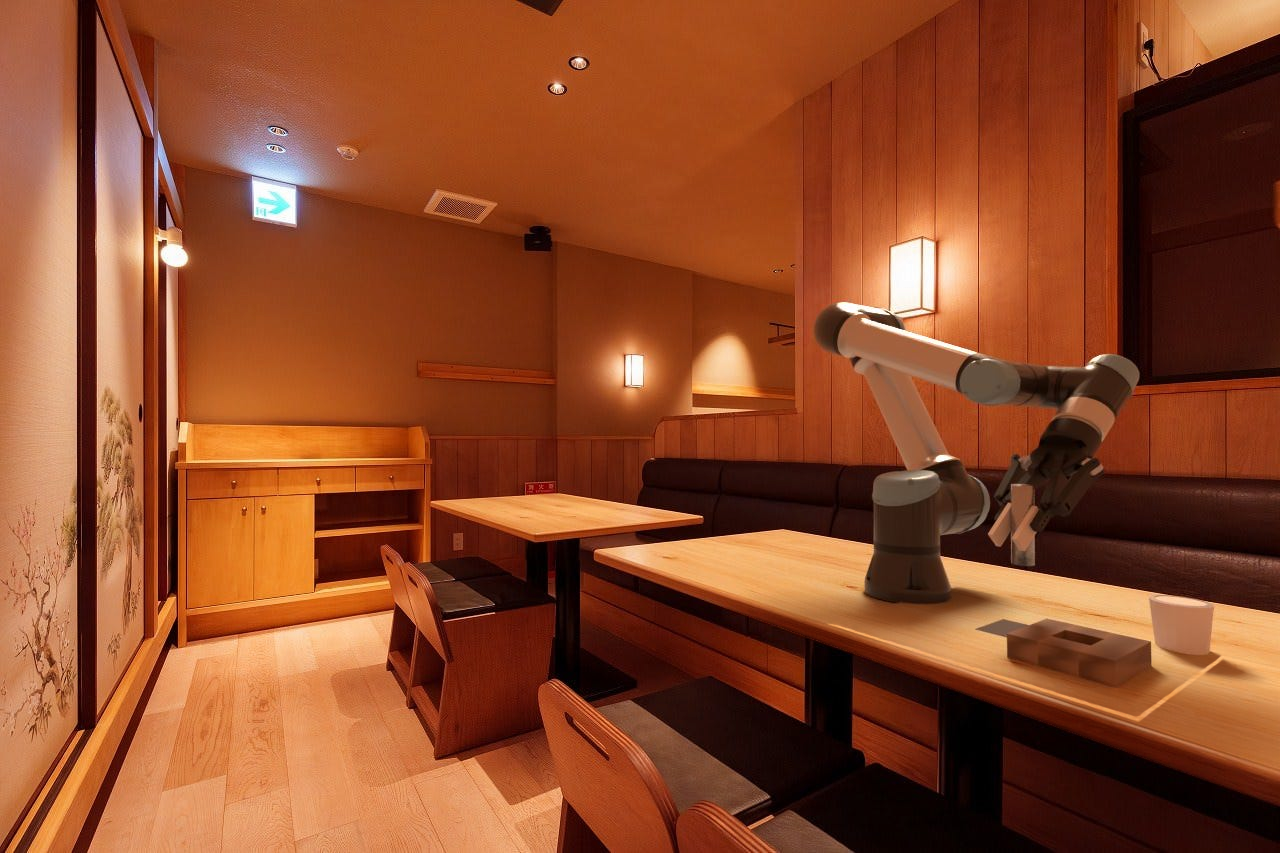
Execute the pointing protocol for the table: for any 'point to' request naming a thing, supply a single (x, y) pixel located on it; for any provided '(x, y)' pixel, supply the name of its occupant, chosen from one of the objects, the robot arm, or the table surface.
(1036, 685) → the table surface
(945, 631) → the table surface
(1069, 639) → the socket block
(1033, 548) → the peg
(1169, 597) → the white cup
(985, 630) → the coaster
